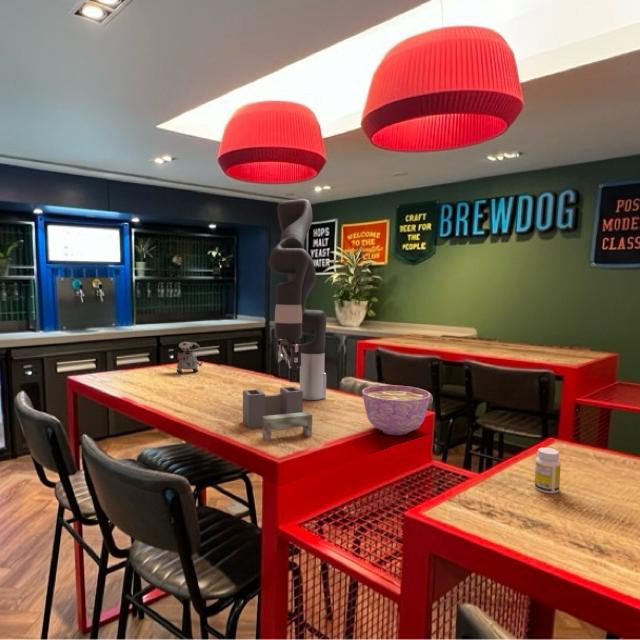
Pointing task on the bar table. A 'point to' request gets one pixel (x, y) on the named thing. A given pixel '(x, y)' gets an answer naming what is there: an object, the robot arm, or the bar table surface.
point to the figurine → (188, 357)
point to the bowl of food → (395, 407)
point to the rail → (286, 423)
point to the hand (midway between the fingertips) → (287, 378)
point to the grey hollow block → (270, 404)
